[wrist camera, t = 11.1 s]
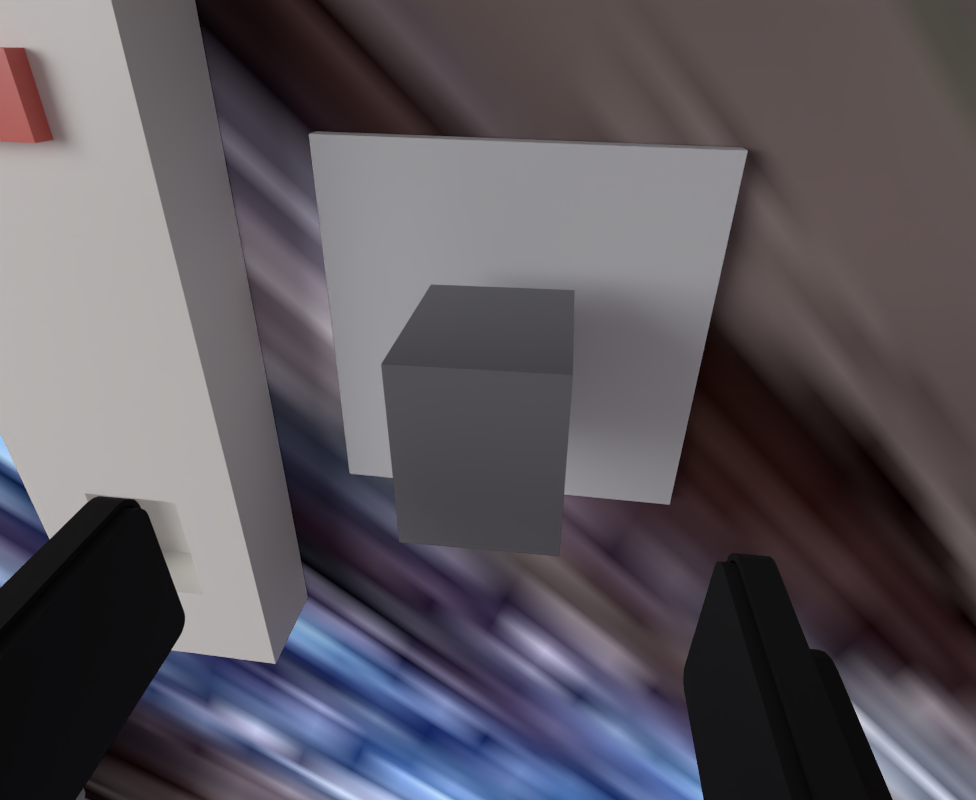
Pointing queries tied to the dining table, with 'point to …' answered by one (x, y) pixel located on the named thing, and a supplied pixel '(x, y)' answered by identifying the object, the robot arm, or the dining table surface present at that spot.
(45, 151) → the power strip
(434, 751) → the dining table surface
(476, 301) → the block
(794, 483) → the dining table surface
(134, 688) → the robot arm
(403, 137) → the felt pad
